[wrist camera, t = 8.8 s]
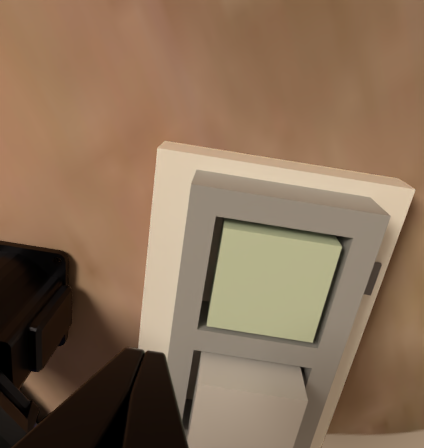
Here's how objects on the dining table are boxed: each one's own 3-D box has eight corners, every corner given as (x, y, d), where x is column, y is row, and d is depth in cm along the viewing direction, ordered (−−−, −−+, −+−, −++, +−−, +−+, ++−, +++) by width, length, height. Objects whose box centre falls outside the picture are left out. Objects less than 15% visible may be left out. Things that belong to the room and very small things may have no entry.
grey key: (189, 418, 21) (184, 460, 19) (201, 346, 19) (197, 383, 17) (278, 432, 21) (283, 476, 19) (299, 361, 19) (308, 401, 17)
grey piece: (131, 460, 28) (114, 528, 24) (164, 140, 19) (146, 159, 15) (292, 485, 28) (302, 557, 24) (398, 178, 19) (443, 207, 15)
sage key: (209, 296, 20) (206, 326, 18) (225, 208, 18) (223, 227, 16) (303, 311, 20) (312, 342, 18) (328, 224, 18) (342, 246, 16)
